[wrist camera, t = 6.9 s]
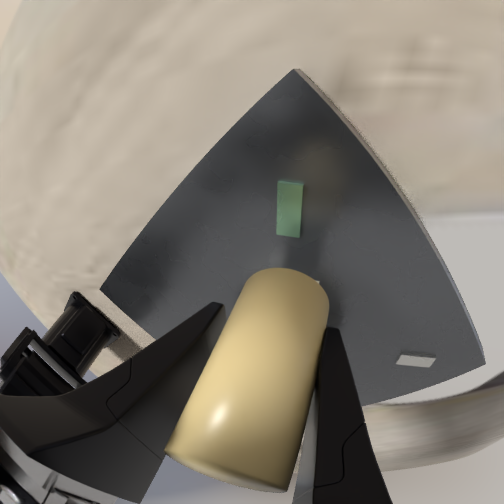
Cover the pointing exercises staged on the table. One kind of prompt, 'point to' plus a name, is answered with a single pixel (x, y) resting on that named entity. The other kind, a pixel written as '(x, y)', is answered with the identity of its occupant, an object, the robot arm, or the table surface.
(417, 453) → the table surface
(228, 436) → the beige rounded piece
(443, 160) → the table surface
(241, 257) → the base
